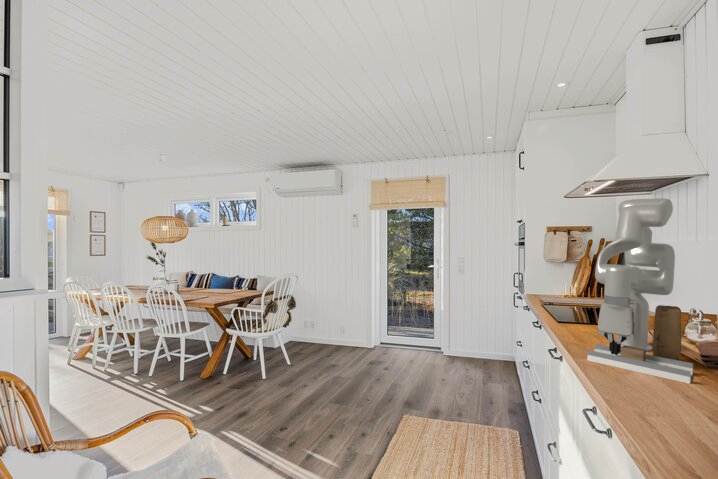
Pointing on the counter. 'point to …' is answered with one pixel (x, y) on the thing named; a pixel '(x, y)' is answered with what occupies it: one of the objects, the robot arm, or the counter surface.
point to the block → (667, 332)
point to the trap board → (644, 364)
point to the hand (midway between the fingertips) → (614, 353)
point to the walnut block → (633, 353)
